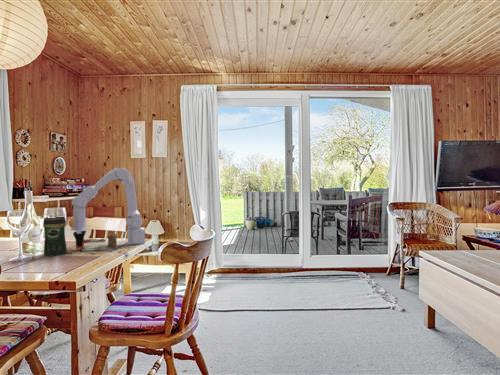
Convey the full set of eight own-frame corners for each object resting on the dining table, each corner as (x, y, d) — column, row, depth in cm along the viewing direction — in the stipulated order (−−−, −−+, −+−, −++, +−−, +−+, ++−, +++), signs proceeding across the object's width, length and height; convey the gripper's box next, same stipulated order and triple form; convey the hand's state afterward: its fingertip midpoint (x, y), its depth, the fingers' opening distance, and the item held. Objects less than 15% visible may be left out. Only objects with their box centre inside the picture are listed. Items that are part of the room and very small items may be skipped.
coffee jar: (67, 251, 171) (67, 215, 171) (64, 255, 164) (64, 216, 164) (45, 253, 168) (45, 215, 168) (41, 256, 161) (41, 217, 160)
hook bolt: (105, 245, 182) (105, 235, 182) (105, 246, 179) (105, 236, 179) (76, 247, 177) (76, 237, 177) (75, 249, 173) (75, 238, 173)
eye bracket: (116, 245, 189) (116, 232, 188) (117, 249, 178) (117, 235, 177) (82, 247, 182) (82, 234, 182) (81, 252, 171) (81, 238, 171)
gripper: (71, 218, 180) (72, 243, 181) (69, 221, 167) (70, 248, 168) (86, 217, 183) (86, 242, 184) (85, 220, 170) (85, 247, 170)
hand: (79, 245), depth 176 cm, fingers closed on hook bolt, 4 cm apart
